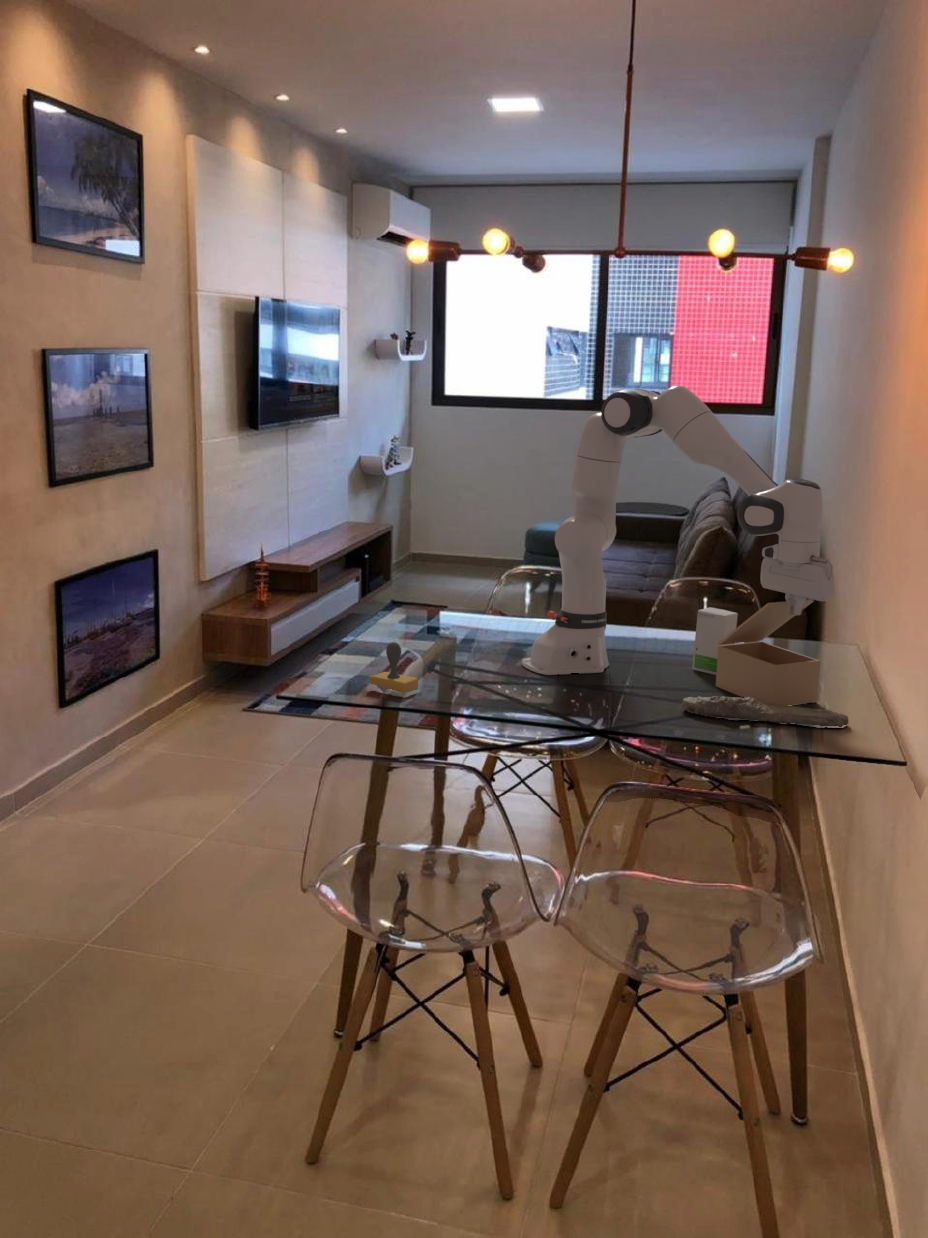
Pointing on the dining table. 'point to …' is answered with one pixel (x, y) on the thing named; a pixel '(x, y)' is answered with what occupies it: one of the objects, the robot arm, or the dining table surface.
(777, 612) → the lid flap
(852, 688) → the dining table surface
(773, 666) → the carton
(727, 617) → the skincare box
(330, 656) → the dining table surface
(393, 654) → the rubber stamp
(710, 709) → the long grey stone
